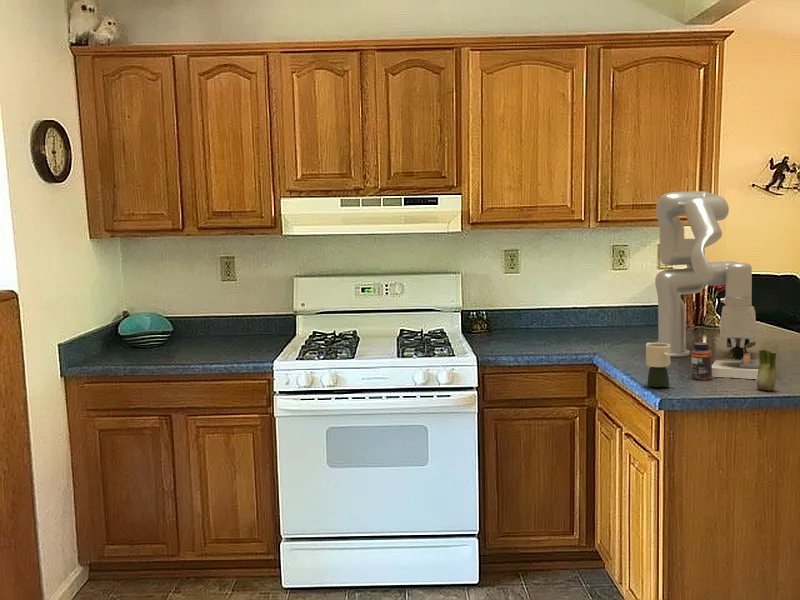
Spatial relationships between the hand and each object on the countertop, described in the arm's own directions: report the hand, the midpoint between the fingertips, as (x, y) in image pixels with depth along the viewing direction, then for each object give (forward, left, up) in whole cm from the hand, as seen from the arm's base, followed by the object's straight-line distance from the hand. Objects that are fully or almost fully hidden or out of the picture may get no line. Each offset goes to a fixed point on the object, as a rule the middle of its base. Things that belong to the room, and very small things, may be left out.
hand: (738, 359), depth 238 cm
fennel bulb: (+9, -20, -5) cm, 23 cm away
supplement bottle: (-10, -10, -5) cm, 15 cm away
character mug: (-20, -26, -5) cm, 33 cm away
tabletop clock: (-3, +33, -5) cm, 34 cm away
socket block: (0, 0, -5) cm, 5 cm away
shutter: (+5, 0, -2) cm, 6 cm away
